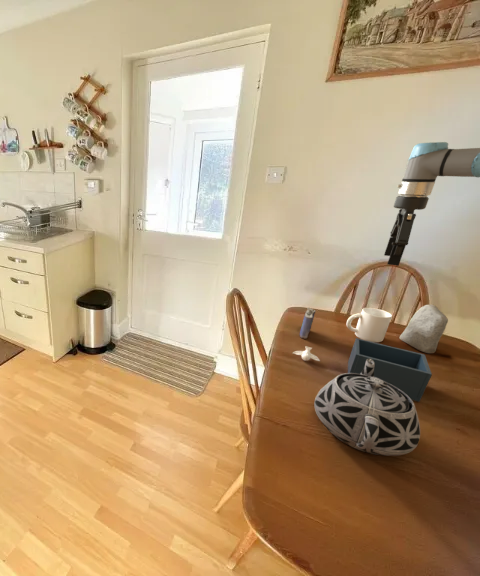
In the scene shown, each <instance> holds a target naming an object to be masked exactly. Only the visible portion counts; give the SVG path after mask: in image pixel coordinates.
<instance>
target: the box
mask: <svg viewBox="0 0 480 576" xmlns="http://www.w3.org/2000/svg"><path fill="white" fill-rule="evenodd" d="M367 359H372V360H373V361H374V364H375V365H374V377H376V378H379V379H381V380H383V381H385V382H387V383H389V384H391V385H393V386H395V387H397V388H398V389H400V390H402V391H403V392H404V393H405V394H407V395H408V396H409V397H410V398H411V400H412V401H413V402H414V401H415V402H417V403H420V402H421V399H422V397H423V395H424V393H425V391H426V389H427V386H428V385H429V382H430V379H431V377H432V375H433V373H432V371H431V368H430V365H429V362H428V360H427V357H426V354H424V353H420V352H416V351H413V350H407V349H403V348H399V347H395V346H390V345H387V344H384V343H383V344H382V343H380V342H370V341H366V340H362V339H360V338H358V337H356V338H355V340H354V343H353V345H352V348H351V352H350V355H349V358H348V360H347V373H356V374H361V372H362V371H363V369H364V366H365V363H366V360H367Z"/></svg>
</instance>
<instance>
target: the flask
mask: <svg viewBox="0 0 480 576" xmlns="http://www.w3.org/2000/svg"><path fill="white" fill-rule="evenodd" d="M315 314H316V309H314V308H312V307H307V310H306V311H305V313H304V315H303V320H302V324H301V327H300V331H299V338H300V339H304V340H306V339H308V337H309V334H310V332H311V329H312V325H313V322H314V318H315Z"/></svg>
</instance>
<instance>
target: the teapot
mask: <svg viewBox="0 0 480 576" xmlns="http://www.w3.org/2000/svg"><path fill="white" fill-rule="evenodd" d="M374 365H375V364H374V361H373V360H372V359H367V360H366V363H365V366H364V369H363V371H362V372H361V374H356V373H348V372H347V373H346V372H345V373H341V374H338V375H337V376H335V377H334V378H332V379H331V380H330V381H328V382H327V383H326V384H324V385H323V387H321V388H320V390H318V392H317V394H316V395H315V399H314V404H313V405H314V406H313V407H314V411H315V414H316V416H317V417H318V420H319V421H320V422H321V424H322V425H323V426H324V427H325V428H326V429H327V430H328V431H329V432H330V433H331V434H332V435H333V436H334V437H335V438H337V439H338V440H339V441H341V442H343V443H344V444H346V445H348V446H350V447H351V448H354V449H356V450H358V451H362V452H363V453H367V454H372V455H378V456H388V457H395V456H397V457H398V456H403V455H407V454H410V453H411V452H413V451H414V450H415V449H416V448H417V447H418V444H419V443H420V438H421V425H420V419H419V415H418V412H417V408H416V405H415V403H414V400H411V398H410V397H409V396H408V395H407V394H405V393H404V392H403V391H402V390H400V389H398V388H397V387H395V386H393V385H391V384H389V383H387V382H385V381H383V380H381V379H379V378H376V377H374Z"/></svg>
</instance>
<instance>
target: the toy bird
mask: <svg viewBox="0 0 480 576" xmlns="http://www.w3.org/2000/svg"><path fill="white" fill-rule="evenodd" d="M304 347H305V350H295V351H293V352H292V354H294V355H297V356H300V357H301V359H302V361H305V362H308V361H310V360H314V361H316V362H321V360H320V358H319V357H318V356H317V355H315V354H314V353H312V352H311V351H312V349H313V347H310V346H307V345H305V346H304Z"/></svg>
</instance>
